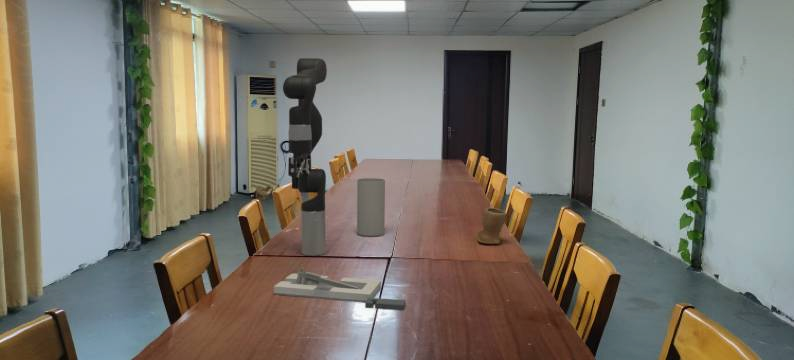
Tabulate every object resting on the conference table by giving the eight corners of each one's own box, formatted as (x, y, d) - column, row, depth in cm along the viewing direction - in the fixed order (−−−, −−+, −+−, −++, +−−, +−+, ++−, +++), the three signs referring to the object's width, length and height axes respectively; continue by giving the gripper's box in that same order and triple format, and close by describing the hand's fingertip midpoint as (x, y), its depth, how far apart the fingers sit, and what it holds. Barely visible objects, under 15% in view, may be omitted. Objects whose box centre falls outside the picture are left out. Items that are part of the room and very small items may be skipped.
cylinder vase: (383, 237, 245) (384, 181, 242) (355, 236, 245) (356, 181, 242) (384, 231, 257) (385, 178, 254) (358, 230, 257) (358, 178, 254)
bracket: (403, 312, 155) (403, 304, 154) (365, 309, 156) (365, 302, 156) (405, 306, 159) (405, 299, 159) (368, 304, 160) (368, 297, 160)
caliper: (297, 287, 172) (296, 267, 171) (298, 286, 173) (298, 266, 172) (361, 292, 168) (361, 272, 167) (361, 291, 169) (362, 271, 168)
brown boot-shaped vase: (505, 246, 231) (507, 211, 229) (477, 245, 232) (478, 210, 230) (502, 238, 246) (504, 205, 244) (476, 237, 247) (477, 204, 245)
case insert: (292, 280, 180) (292, 273, 180) (381, 288, 174) (381, 280, 174) (274, 294, 166) (274, 286, 166) (369, 302, 160) (369, 294, 160)
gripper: (297, 137, 189) (297, 184, 191) (280, 139, 176) (281, 189, 178) (318, 137, 188) (318, 184, 190) (302, 139, 174) (302, 190, 176)
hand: (300, 187), depth 184 cm, fingers open, 8 cm apart
